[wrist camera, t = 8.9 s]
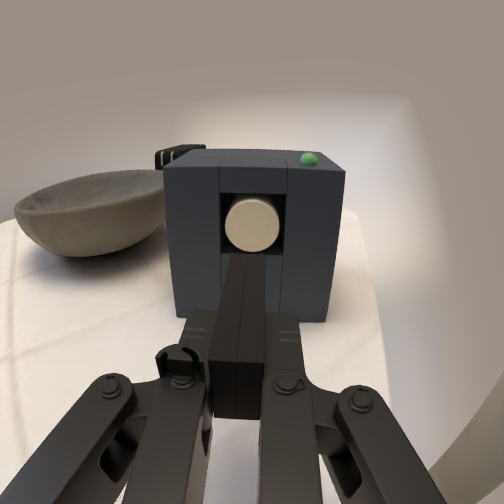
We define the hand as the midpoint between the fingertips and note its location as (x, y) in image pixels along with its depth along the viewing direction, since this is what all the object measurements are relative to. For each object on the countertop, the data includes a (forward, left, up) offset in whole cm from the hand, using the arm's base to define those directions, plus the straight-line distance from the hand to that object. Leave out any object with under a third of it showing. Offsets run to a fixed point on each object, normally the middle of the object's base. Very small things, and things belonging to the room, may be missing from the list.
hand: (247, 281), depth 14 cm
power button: (+8, -4, -2) cm, 9 cm away
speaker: (+12, -5, -8) cm, 15 cm away
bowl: (+27, +10, -8) cm, 30 cm away
